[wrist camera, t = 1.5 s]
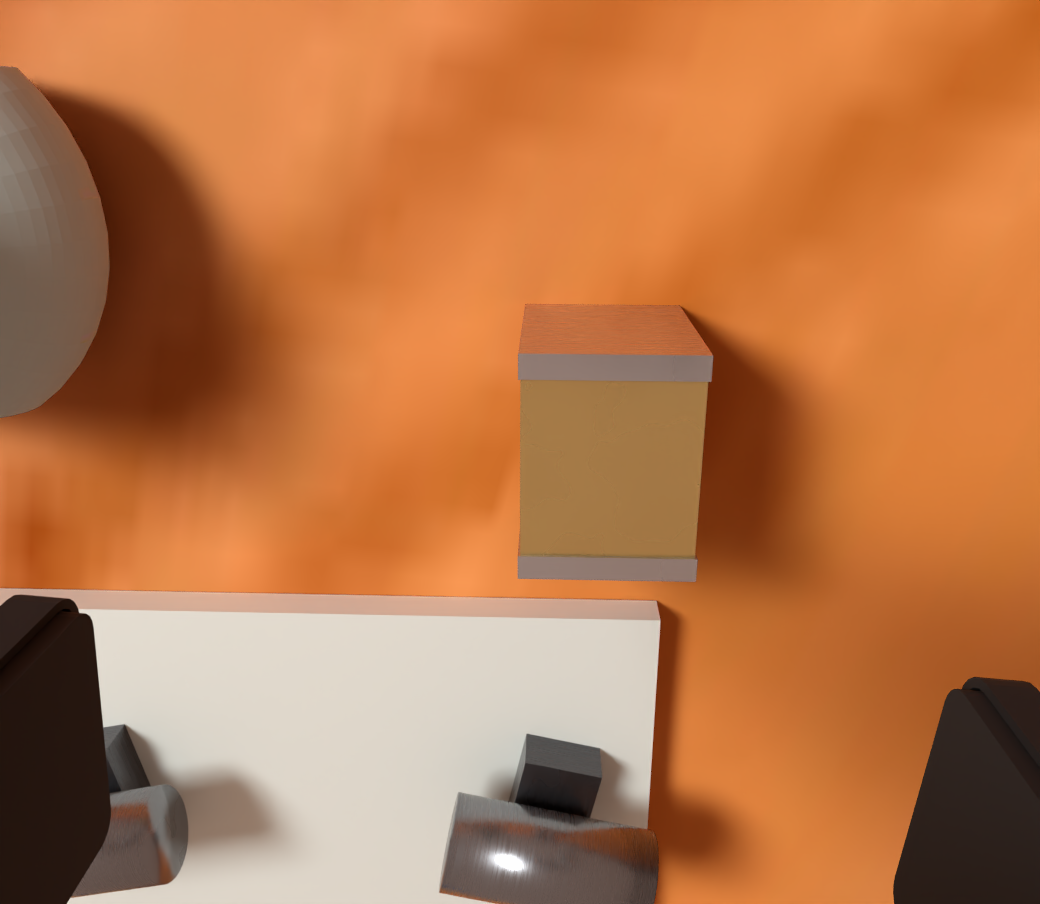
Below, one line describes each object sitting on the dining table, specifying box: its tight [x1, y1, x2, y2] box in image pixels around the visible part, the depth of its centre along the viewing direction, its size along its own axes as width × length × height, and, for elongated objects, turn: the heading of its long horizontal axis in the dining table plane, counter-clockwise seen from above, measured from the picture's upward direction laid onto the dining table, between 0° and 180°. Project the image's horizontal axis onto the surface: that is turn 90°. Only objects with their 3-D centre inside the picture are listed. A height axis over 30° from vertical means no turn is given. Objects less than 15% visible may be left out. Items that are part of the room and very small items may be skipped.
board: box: [0, 588, 661, 904], centre depth 30 cm, size 21×12×1 cm, turn 90°
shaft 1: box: [71, 724, 188, 898], centre depth 28 cm, size 6×4×4 cm
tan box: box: [518, 304, 713, 582], centre depth 24 cm, size 6×4×6 cm
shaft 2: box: [439, 734, 659, 904], centre depth 28 cm, size 6×4×4 cm
